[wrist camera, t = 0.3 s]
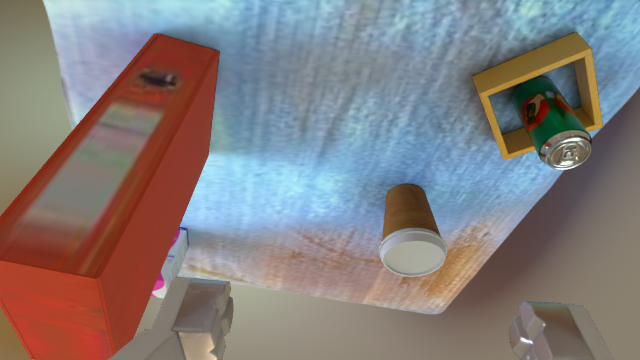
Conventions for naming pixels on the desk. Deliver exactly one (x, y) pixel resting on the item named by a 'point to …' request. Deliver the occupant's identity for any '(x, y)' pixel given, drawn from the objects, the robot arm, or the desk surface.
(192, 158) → the file binder
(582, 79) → the frame
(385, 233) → the disposable coffee cup
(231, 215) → the desk surface
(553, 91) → the soda can
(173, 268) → the supplement box
